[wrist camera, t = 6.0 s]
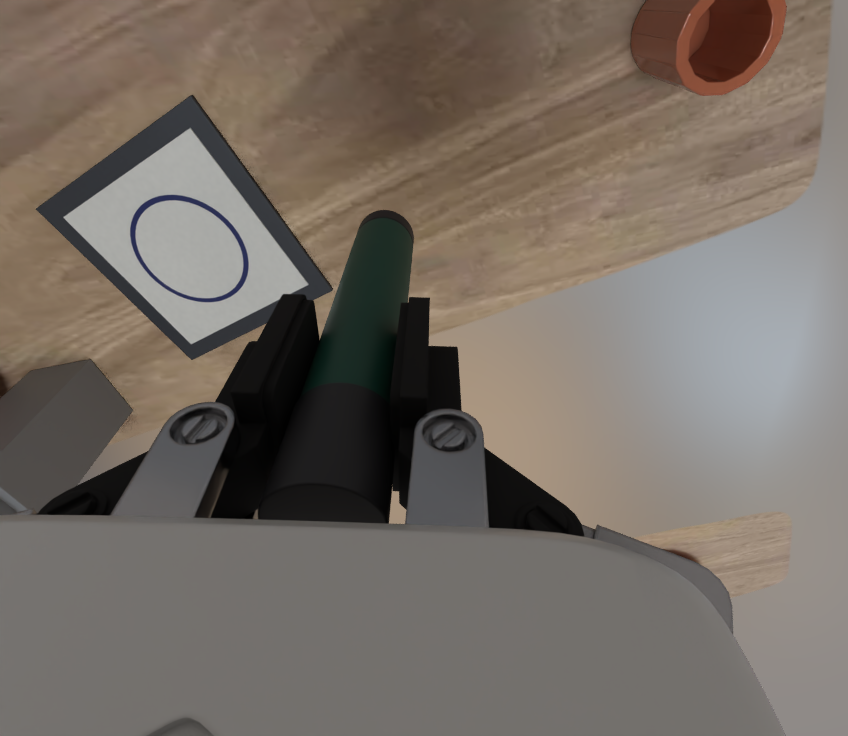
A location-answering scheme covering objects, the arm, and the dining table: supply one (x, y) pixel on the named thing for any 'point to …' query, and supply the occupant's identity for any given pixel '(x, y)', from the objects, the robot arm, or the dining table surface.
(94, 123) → the dining table surface
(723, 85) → the pen pot
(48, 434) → the perfume bottle
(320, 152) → the dining table surface
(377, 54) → the dining table surface
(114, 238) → the target board
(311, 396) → the marker
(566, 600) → the robot arm
